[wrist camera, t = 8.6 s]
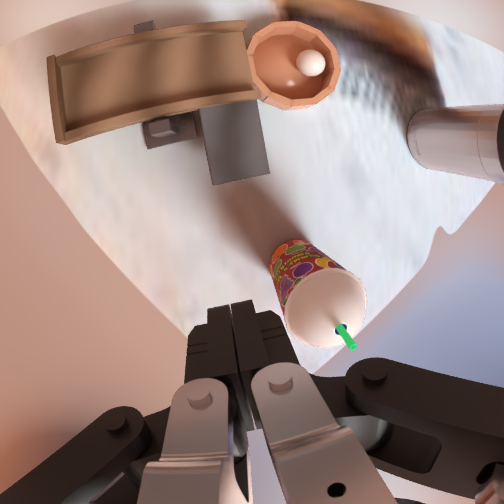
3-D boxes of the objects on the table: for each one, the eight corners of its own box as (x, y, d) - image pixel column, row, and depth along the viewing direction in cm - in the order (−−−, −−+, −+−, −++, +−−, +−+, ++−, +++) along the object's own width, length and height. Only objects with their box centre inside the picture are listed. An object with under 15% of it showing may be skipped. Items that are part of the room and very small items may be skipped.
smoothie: (287, 218, 40) (352, 280, 21) (333, 252, 42) (415, 326, 23) (249, 270, 41) (280, 366, 22) (297, 300, 43) (351, 397, 25)
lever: (234, 35, 29) (248, 16, 24) (260, 172, 35) (278, 174, 30) (60, 71, 24) (46, 57, 20) (86, 217, 30) (75, 226, 25)
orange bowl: (319, 29, 32) (328, 20, 29) (336, 105, 36) (347, 101, 32) (236, 35, 31) (238, 25, 28) (252, 115, 35) (256, 111, 32)
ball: (287, 51, 31) (304, 55, 33) (293, 77, 32) (309, 79, 34) (311, 44, 29) (327, 49, 31) (317, 71, 30) (333, 74, 32)
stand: (178, 35, 30) (171, 9, 23) (197, 137, 35) (192, 133, 28) (132, 47, 30) (114, 25, 23) (148, 149, 35) (132, 148, 27)
